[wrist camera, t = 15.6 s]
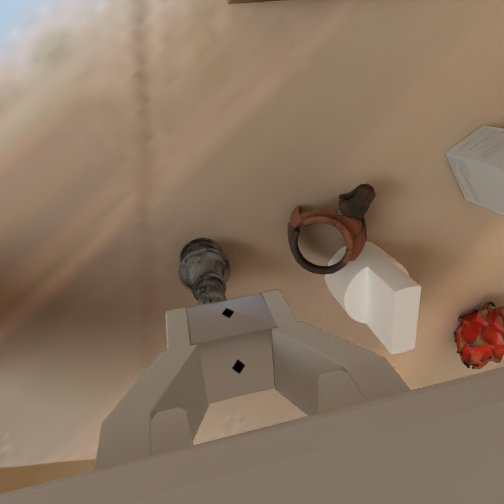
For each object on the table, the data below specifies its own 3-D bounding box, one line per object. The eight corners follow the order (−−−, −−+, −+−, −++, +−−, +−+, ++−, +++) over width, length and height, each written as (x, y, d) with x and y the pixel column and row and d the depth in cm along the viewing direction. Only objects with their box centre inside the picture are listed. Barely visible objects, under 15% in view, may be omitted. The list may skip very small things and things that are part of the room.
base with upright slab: (324, 248, 50) (369, 296, 40) (387, 235, 52) (446, 278, 41) (325, 304, 54) (366, 362, 44) (384, 291, 56) (437, 343, 45)
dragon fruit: (485, 283, 62) (444, 336, 68) (473, 298, 56) (429, 355, 61) (541, 316, 58) (492, 369, 64) (534, 336, 52) (481, 393, 57)
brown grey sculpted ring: (342, 262, 53) (335, 295, 46) (283, 226, 53) (267, 253, 46) (398, 191, 46) (399, 216, 39) (330, 150, 47) (319, 168, 40)
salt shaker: (212, 227, 46) (229, 275, 35) (233, 265, 48) (255, 321, 38) (168, 250, 46) (172, 305, 35) (191, 287, 48) (201, 348, 38)
